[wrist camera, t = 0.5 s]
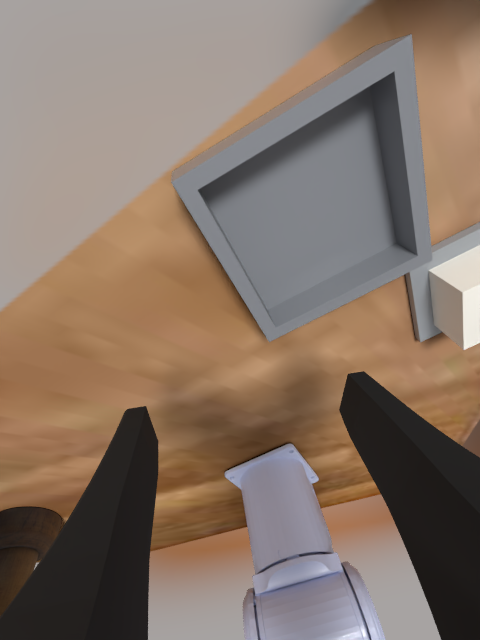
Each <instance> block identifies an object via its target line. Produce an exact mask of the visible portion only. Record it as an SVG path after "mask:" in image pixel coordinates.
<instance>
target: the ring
mask: <svg viewBox="0 0 480 640" xmlns="http://www.w3.org/2000/svg"><path fill="white" fill-rule="evenodd" d="M429 280H430V289H431V299H432V308H433V318H434V325H435V326H436V327H437V328H438V329H440V330H441V331H442V332H443V333H444V334H445V335H447V336H448V337H449V338H450V339H451V340H453V341H454V342H455V343H456V344H457V345H458V346H460V347H461V348H462V349H463V350H465V349H467V348H469V347H472V346H474V345H476V344H478V343H480V245H479V246H477V247H475V248H472V249H470V250H468V251H466V252H464V253H462V254H460V255H458V256H456V257H454V258H452V259H450V260H448V261H446V262H444V263H442V264H440V265H438V266H436V267H434V268H432V269H430V270H429Z"/></svg>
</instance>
